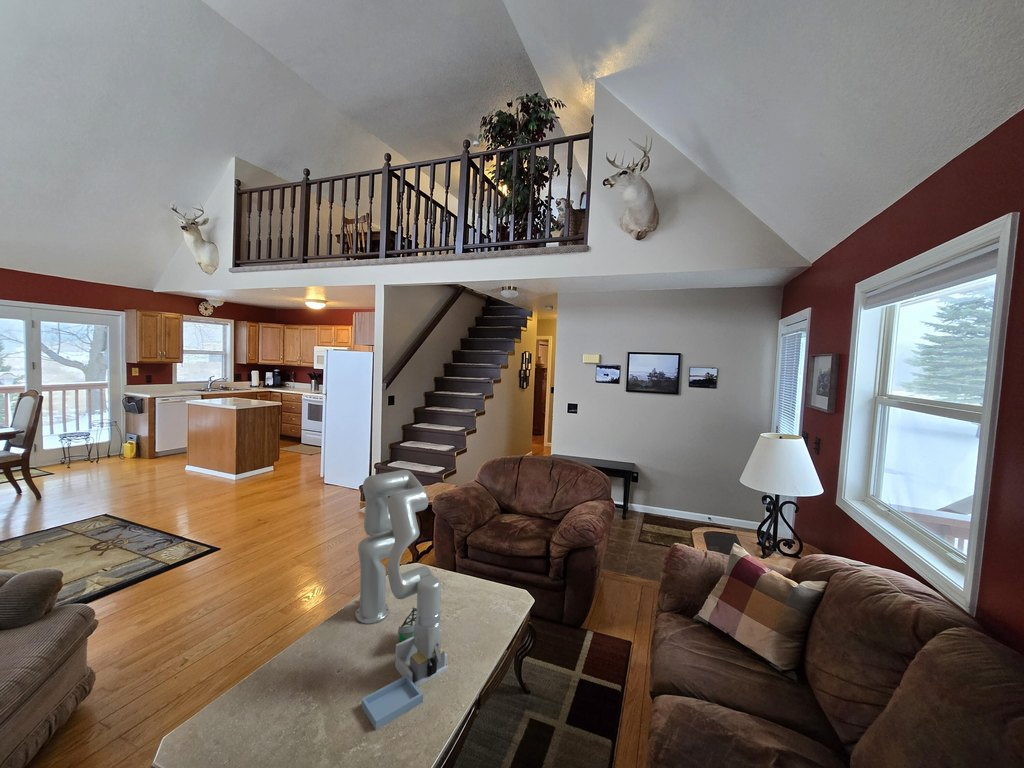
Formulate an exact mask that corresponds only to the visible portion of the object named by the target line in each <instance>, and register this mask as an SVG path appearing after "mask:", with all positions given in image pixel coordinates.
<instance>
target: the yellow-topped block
mask: <svg viewBox="0 0 1024 768" xmlns="http://www.w3.org/2000/svg"><path fill="white" fill-rule="evenodd" d="M445 653H446V651H445V650H444V649H443V648H442V647H441V651H440V655H441V659H442V660H441V661H439V662H437V670H439V669H440V668H442V667H444V663H445ZM433 659H434V656H432V658H431V660H433ZM428 664H429V662H428V659H427V658H426V657H424V656H423V654H422V653H421V652H420V651H419V652H417V653H415V654H413V655H412V656H411V657H410V663H409V669H410V671H411V672H412V673H413V675H412V681H414V683H415V682H417V681H418V680H420V679H422V678H424V677H426V676H427V665H428Z"/></svg>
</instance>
